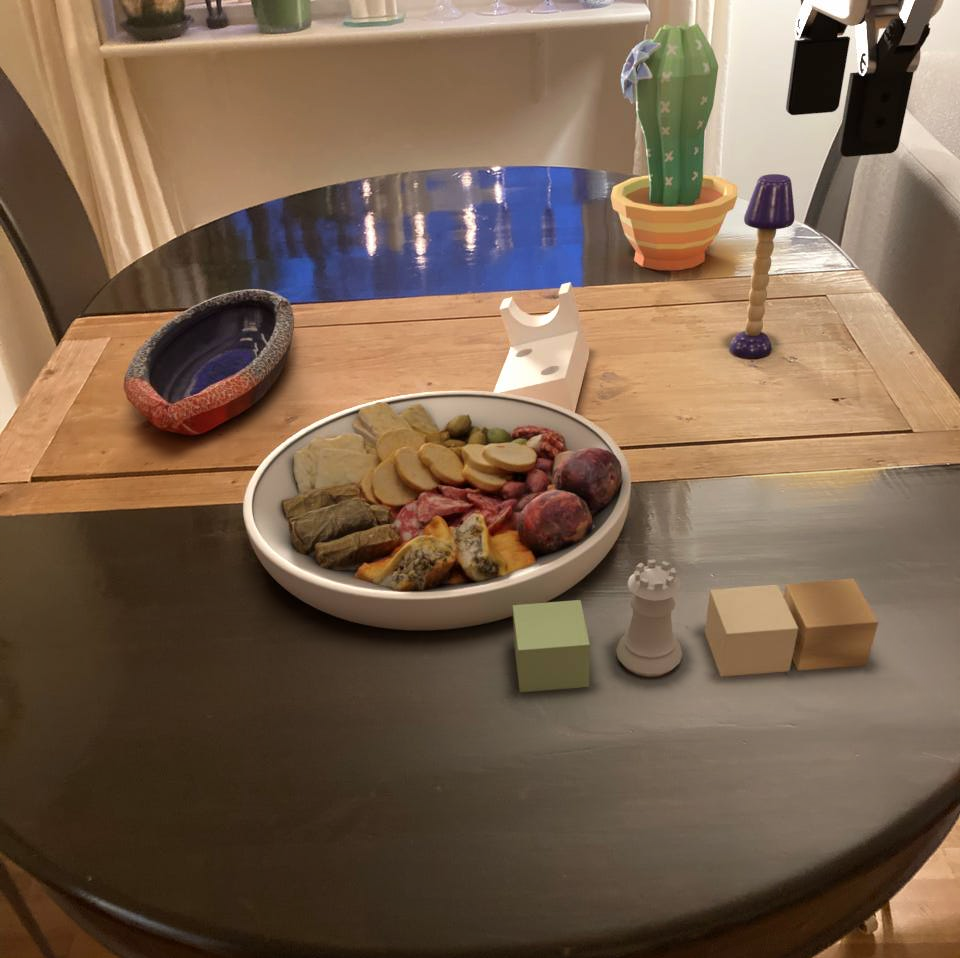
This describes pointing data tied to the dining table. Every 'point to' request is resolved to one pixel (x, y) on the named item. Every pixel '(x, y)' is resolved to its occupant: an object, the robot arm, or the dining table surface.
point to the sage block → (551, 646)
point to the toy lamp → (763, 257)
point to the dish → (211, 361)
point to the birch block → (830, 624)
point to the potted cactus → (672, 151)
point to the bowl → (438, 508)
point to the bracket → (545, 352)
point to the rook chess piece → (651, 622)
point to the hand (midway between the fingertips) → (837, 131)
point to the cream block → (750, 630)
